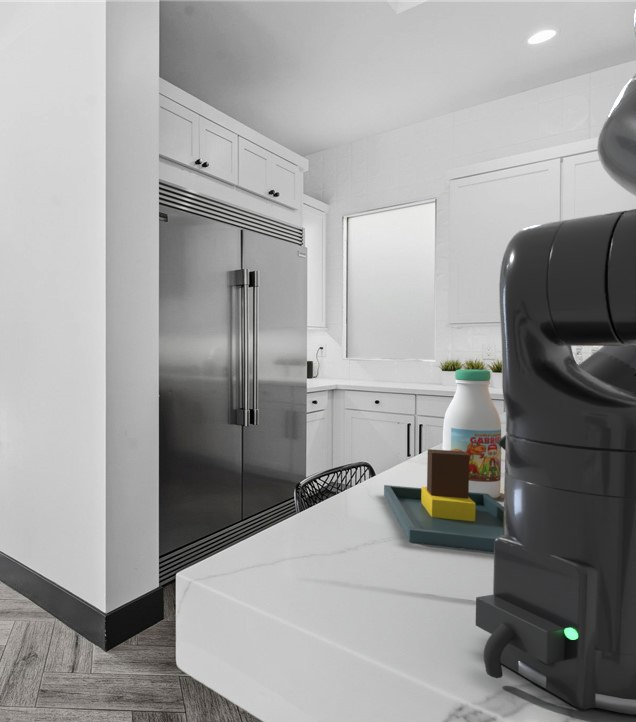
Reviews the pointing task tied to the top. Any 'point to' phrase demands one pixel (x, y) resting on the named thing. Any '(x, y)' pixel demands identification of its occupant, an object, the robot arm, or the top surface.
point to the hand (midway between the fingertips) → (514, 454)
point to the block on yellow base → (448, 486)
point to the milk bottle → (475, 430)
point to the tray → (446, 521)
